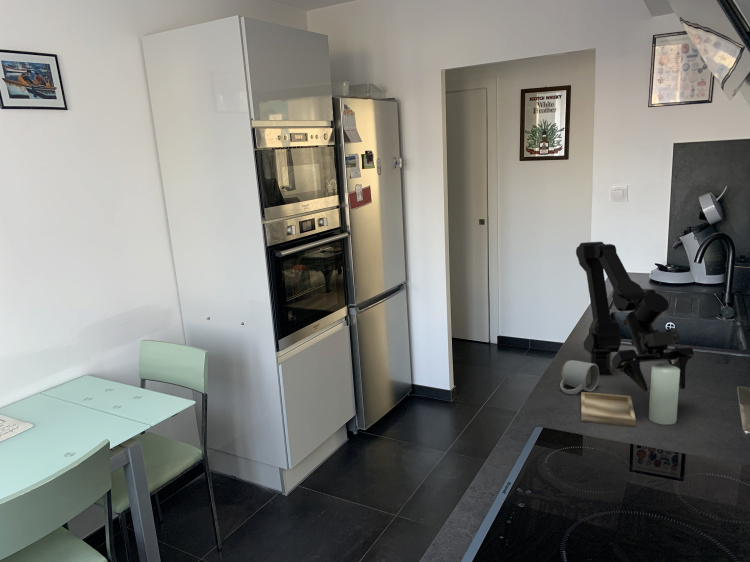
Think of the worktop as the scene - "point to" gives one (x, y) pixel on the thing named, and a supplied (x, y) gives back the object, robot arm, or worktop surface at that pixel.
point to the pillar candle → (664, 394)
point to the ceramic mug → (579, 376)
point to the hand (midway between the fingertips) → (665, 390)
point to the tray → (607, 409)
